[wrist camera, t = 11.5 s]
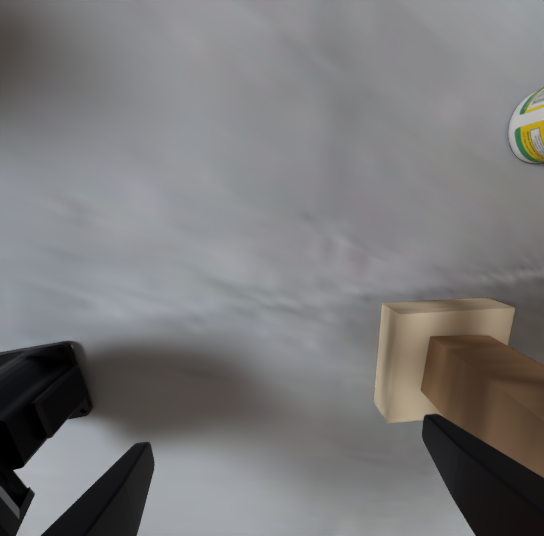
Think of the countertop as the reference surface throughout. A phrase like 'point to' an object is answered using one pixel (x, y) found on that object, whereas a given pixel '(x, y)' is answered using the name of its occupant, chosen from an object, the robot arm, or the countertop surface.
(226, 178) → the countertop surface
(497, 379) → the walnut block
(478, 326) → the birch block
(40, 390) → the robot arm
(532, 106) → the supplement bottle
